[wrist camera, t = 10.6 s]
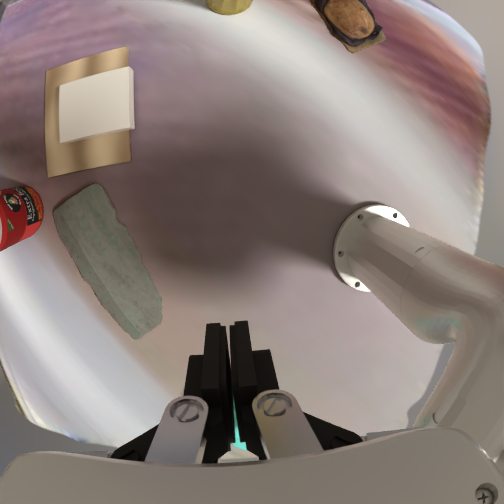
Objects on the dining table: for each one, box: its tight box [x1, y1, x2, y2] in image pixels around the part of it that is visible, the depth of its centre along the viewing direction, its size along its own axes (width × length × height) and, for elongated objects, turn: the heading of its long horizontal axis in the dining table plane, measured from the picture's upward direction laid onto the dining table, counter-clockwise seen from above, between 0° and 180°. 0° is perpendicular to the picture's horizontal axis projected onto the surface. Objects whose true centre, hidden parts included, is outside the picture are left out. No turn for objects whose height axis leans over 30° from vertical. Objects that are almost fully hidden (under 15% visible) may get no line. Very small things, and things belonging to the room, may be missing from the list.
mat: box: [45, 46, 131, 178], centre depth 32 cm, size 13×16×1 cm
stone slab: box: [53, 183, 162, 339], centre depth 38 cm, size 22×3×10 cm
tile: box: [59, 66, 135, 144], centre depth 30 cm, size 2×8×10 cm
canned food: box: [0, 186, 43, 251], centre depth 29 cm, size 8×8×11 cm
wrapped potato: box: [311, 0, 386, 53], centre depth 29 cm, size 11×8×4 cm
